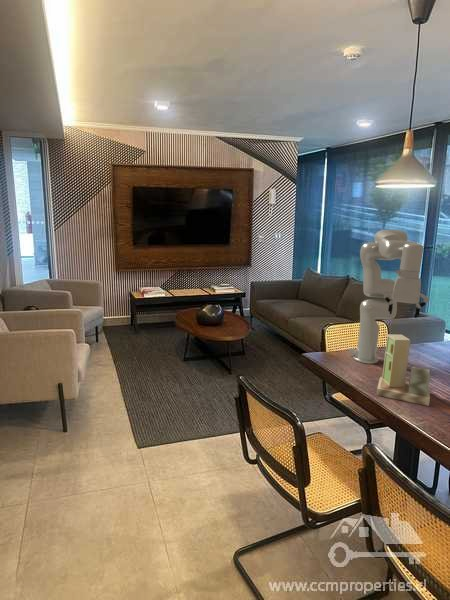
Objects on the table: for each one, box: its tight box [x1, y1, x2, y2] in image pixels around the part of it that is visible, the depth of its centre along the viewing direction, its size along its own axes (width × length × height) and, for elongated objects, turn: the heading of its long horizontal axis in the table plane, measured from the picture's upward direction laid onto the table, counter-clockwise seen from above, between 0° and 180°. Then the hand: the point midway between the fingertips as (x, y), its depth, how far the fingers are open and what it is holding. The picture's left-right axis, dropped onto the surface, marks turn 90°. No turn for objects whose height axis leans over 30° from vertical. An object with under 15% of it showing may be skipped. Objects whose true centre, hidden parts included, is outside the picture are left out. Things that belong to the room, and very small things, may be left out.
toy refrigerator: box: [381, 333, 411, 387], centre depth 180 cm, size 8×7×21 cm
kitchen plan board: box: [376, 366, 431, 407], centre depth 179 cm, size 20×14×11 cm
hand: (403, 315), depth 175 cm, fingers open, 9 cm apart
